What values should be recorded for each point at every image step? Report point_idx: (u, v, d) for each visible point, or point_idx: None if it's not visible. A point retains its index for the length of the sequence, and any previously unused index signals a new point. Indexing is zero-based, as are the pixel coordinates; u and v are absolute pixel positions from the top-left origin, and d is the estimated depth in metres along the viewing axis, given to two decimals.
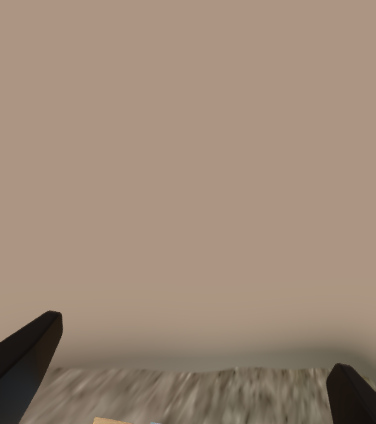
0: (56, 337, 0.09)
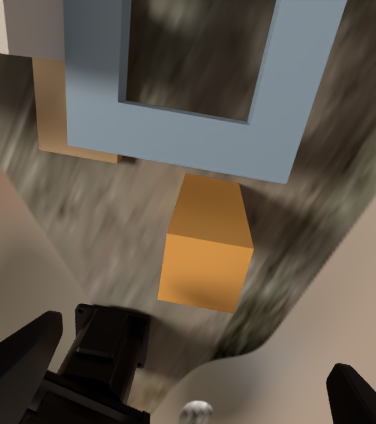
0: (56, 337, 0.09)
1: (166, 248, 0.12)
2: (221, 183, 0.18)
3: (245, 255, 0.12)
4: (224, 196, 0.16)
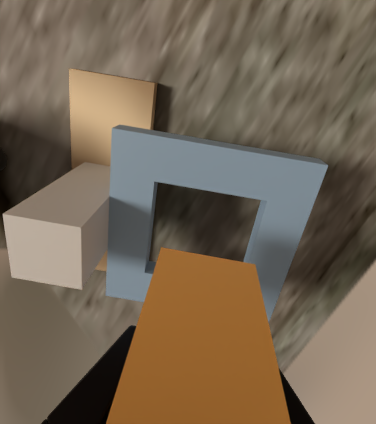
0: None
1: None
2: (224, 269, 0.10)
3: None
4: (232, 315, 0.08)
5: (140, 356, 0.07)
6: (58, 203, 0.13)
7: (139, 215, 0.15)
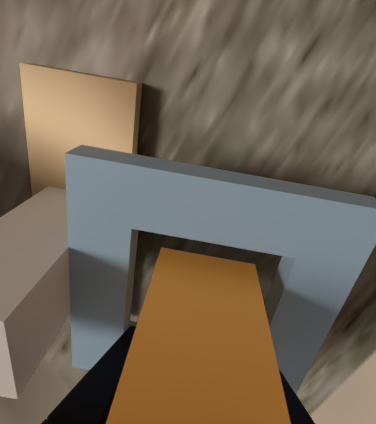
0: None
1: None
2: (224, 269, 0.10)
3: None
4: (232, 315, 0.08)
5: (140, 356, 0.06)
6: None
7: (111, 273, 0.10)
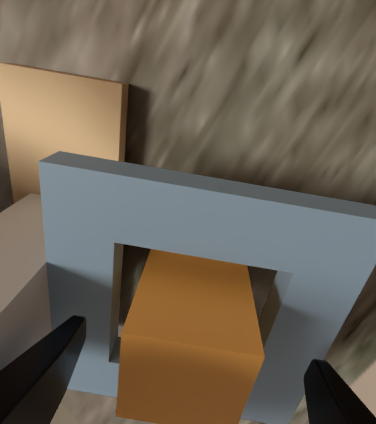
0: (81, 341, 0.09)
1: (122, 353, 0.07)
2: None
3: (250, 365, 0.07)
4: None
5: (157, 256, 0.10)
6: None
7: (94, 289, 0.10)
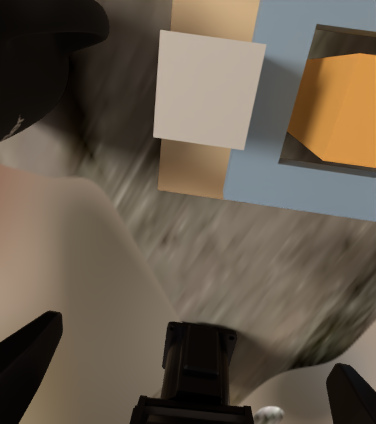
0: (56, 337, 0.09)
1: (353, 77, 0.09)
2: None
3: None
4: None
5: None
6: None
7: (286, 79, 0.12)
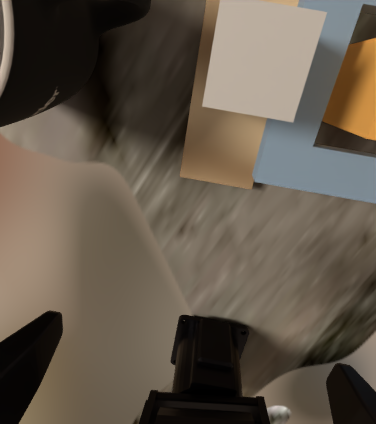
0: (56, 337, 0.09)
1: None
2: None
3: None
4: None
5: None
6: None
7: (328, 59, 0.12)
